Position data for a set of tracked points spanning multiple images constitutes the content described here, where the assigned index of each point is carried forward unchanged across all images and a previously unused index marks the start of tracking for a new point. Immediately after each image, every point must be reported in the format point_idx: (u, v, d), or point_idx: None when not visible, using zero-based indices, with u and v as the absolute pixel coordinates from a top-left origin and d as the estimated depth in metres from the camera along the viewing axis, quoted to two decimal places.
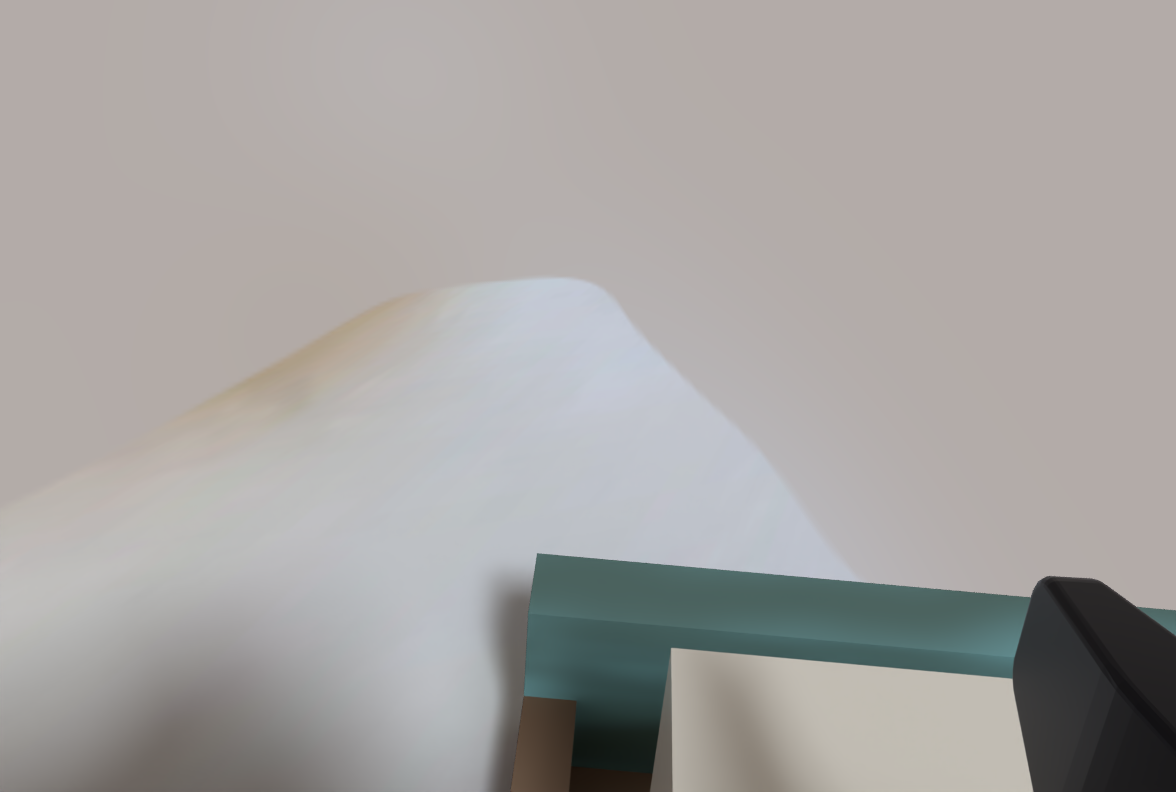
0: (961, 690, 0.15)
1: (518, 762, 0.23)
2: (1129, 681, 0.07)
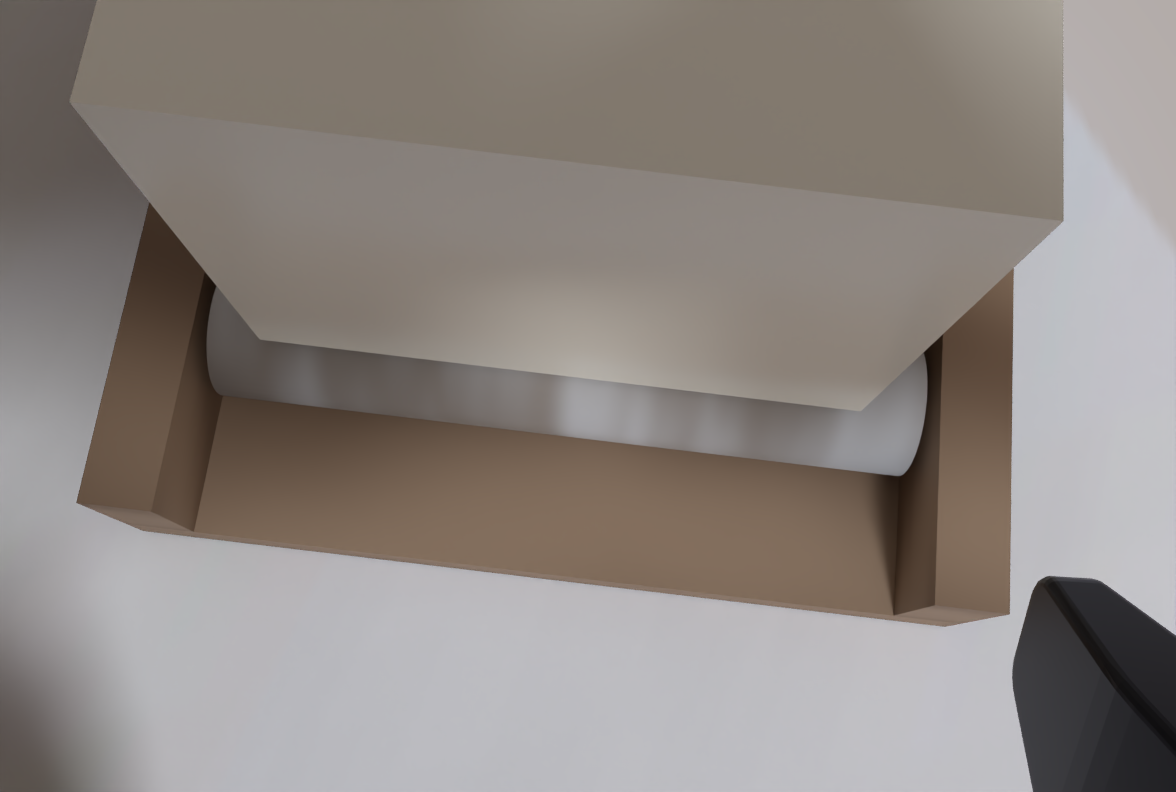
0: None
1: None
2: (1129, 681, 0.07)
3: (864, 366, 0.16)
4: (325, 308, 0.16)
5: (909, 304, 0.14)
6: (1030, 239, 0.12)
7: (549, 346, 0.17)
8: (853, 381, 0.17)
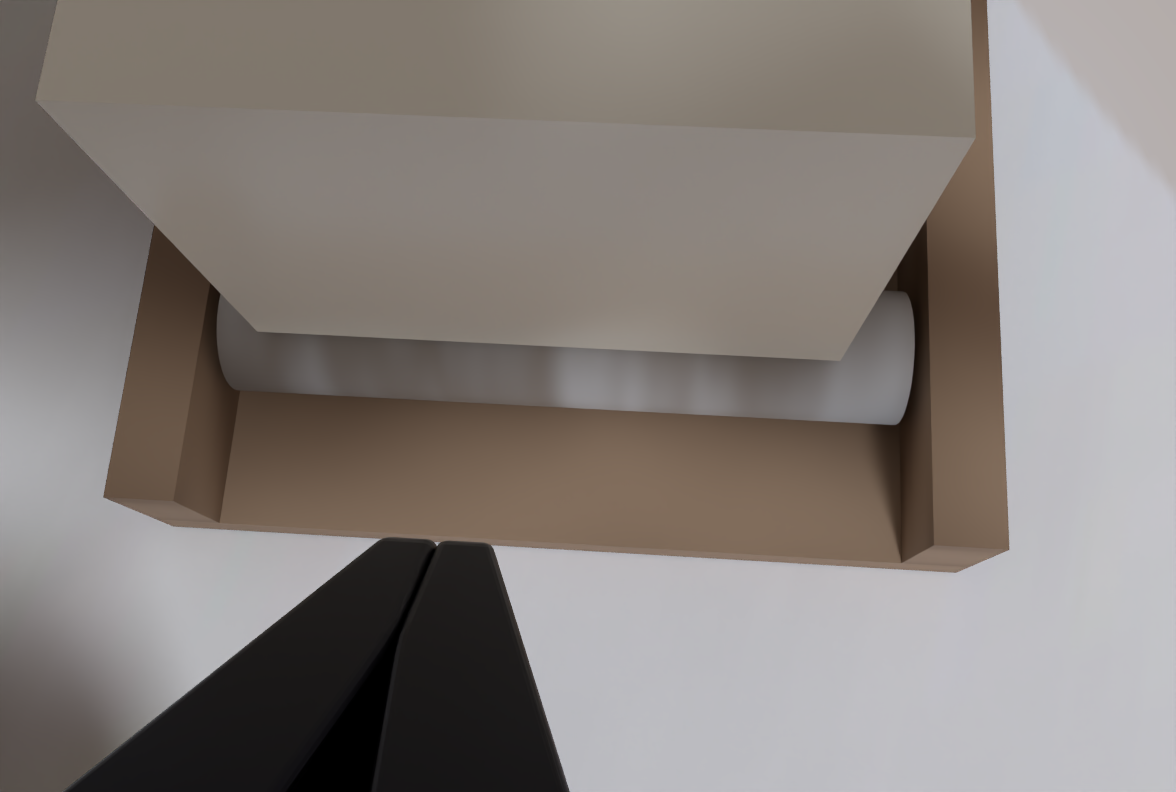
0: None
1: None
2: (408, 635, 0.07)
3: (829, 311, 0.16)
4: (309, 293, 0.17)
5: (855, 239, 0.14)
6: (949, 160, 0.12)
7: (527, 314, 0.17)
8: (825, 329, 0.17)
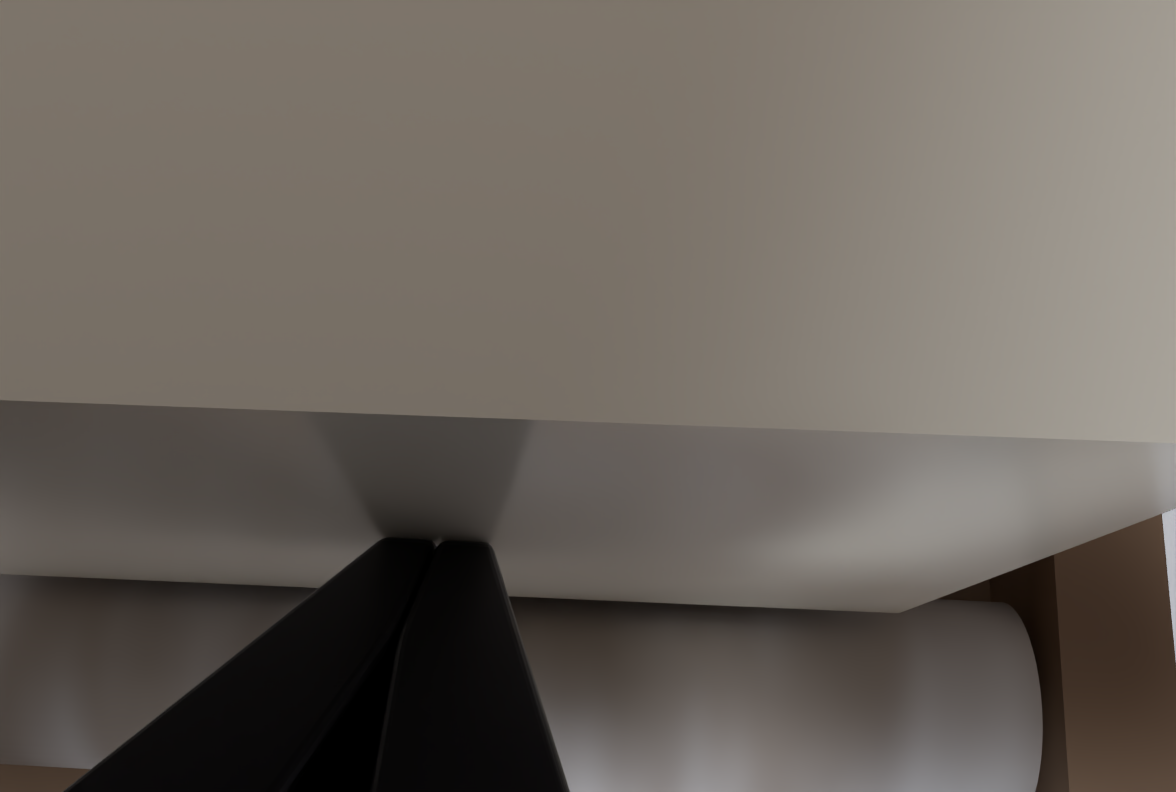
0: None
1: None
2: (407, 636, 0.07)
3: (895, 586, 0.10)
4: (16, 553, 0.10)
5: (967, 540, 0.07)
6: None
7: None
8: (881, 596, 0.10)
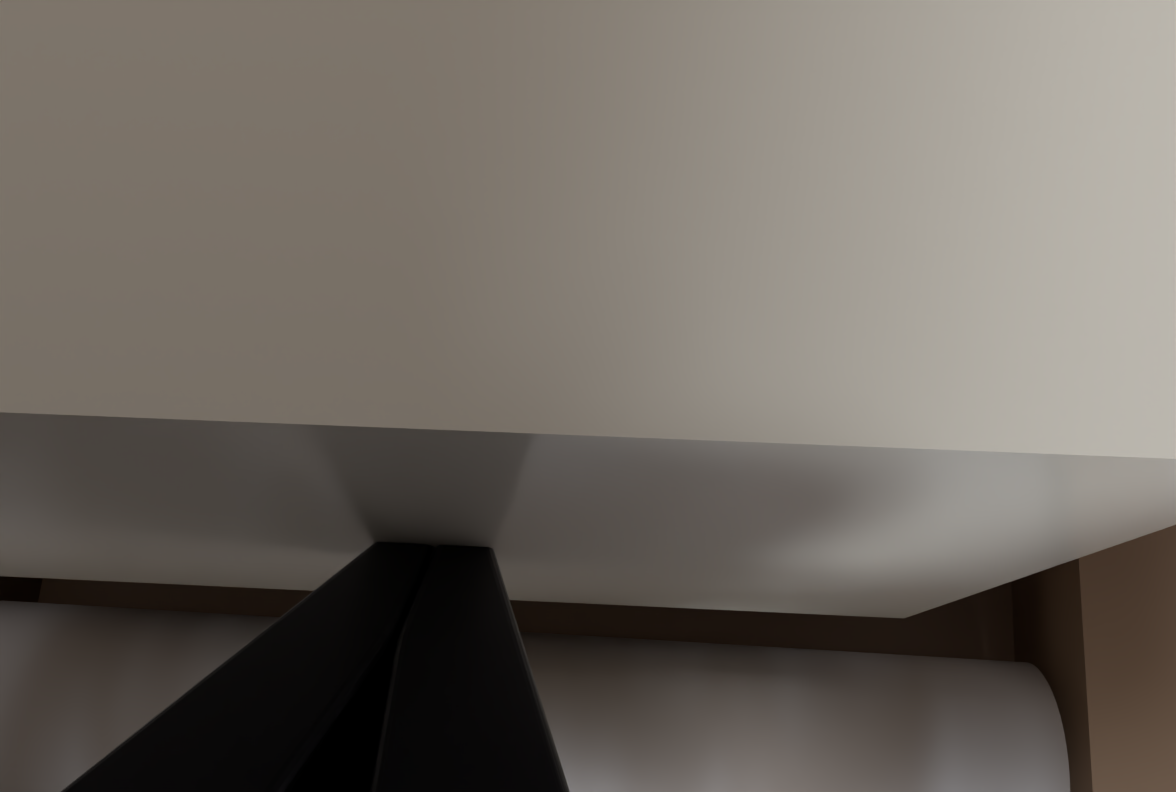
0: None
1: None
2: (407, 635, 0.07)
3: (901, 593, 0.10)
4: (21, 556, 0.10)
5: (973, 550, 0.07)
6: None
7: None
8: (886, 602, 0.10)
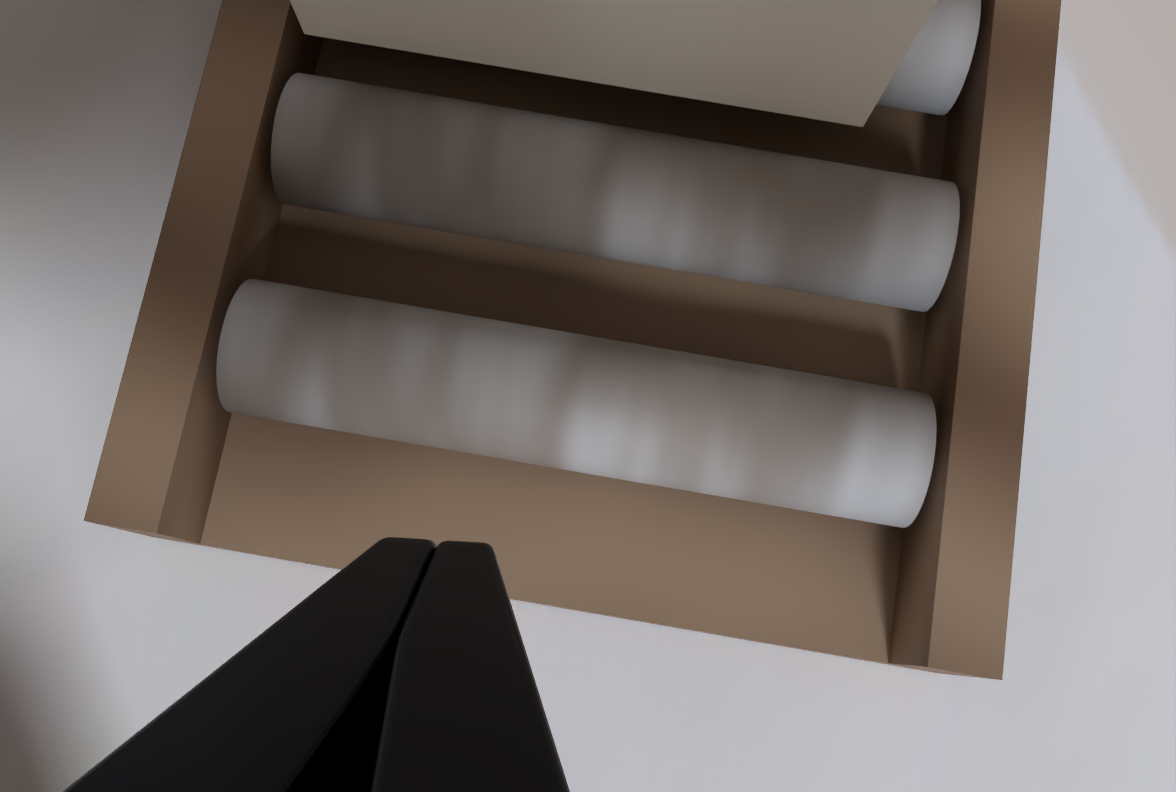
0: None
1: None
2: (407, 636, 0.07)
3: (865, 54, 0.17)
4: None
5: None
6: None
7: (573, 33, 0.18)
8: (855, 79, 0.18)
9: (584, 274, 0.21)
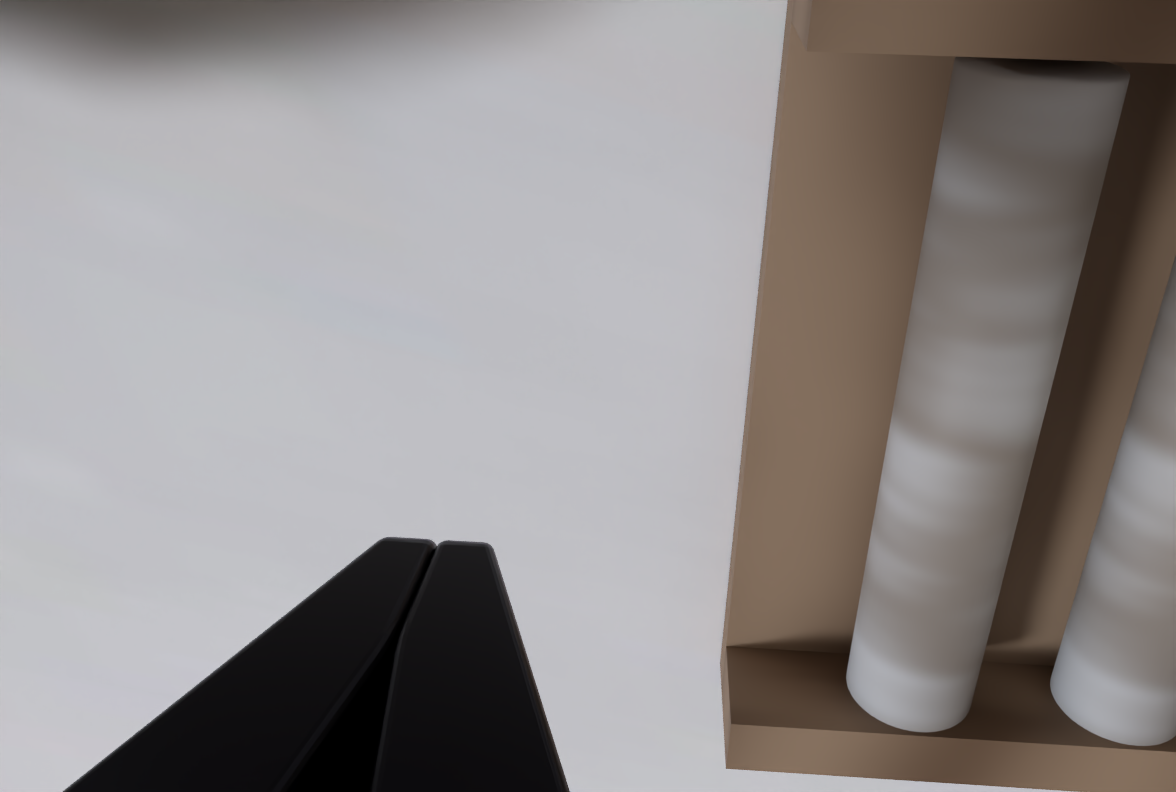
0: None
1: None
2: (407, 636, 0.07)
3: None
4: None
5: None
6: None
7: None
8: None
9: (1108, 384, 0.20)
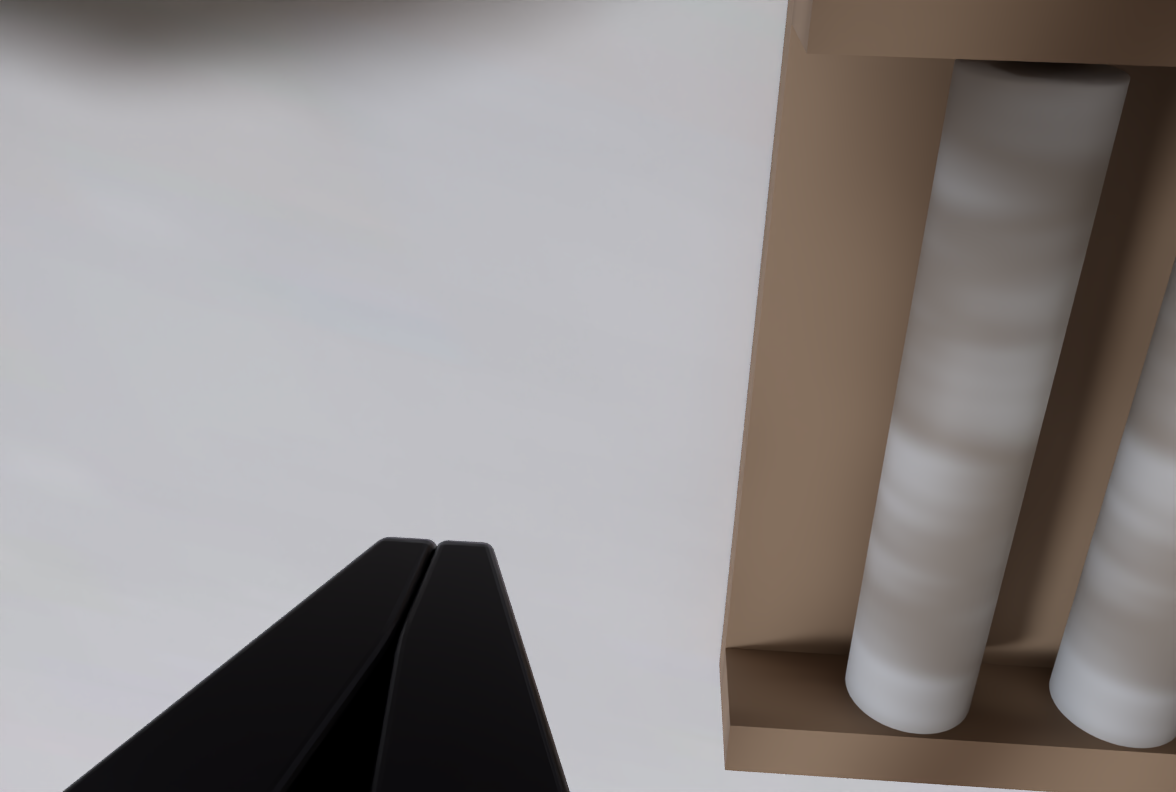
0: None
1: None
2: (407, 636, 0.07)
3: None
4: None
5: None
6: None
7: None
8: None
9: (1108, 386, 0.20)
